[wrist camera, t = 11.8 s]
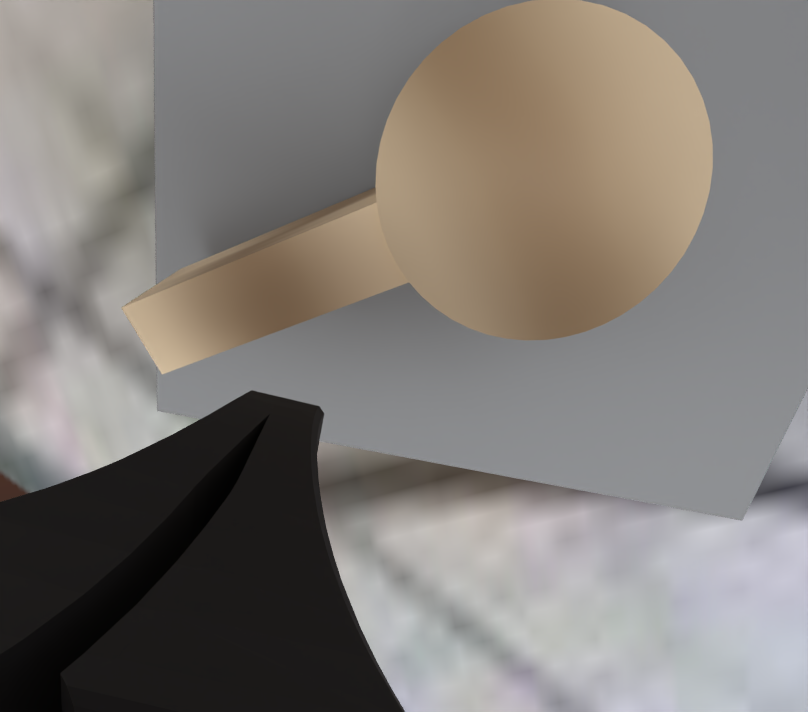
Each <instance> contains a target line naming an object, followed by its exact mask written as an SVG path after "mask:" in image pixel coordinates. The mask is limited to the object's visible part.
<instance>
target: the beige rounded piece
mask: <svg viewBox="0 0 808 712" xmlns="http://www.w3.org/2000/svg"><path fill="white" fill-rule="evenodd" d="M712 170H713V143H712V136H711V129H710V121H709V118H708V115H707V111H706V108H705V104H704V101H703V98H702V96H701V93H700V91H699V89H698V87H697V85H696V83H695V80H694V78H693V77H692V75H691V73H690V72H689V70H688V69H687V67H686V66H685V64H684V63H683V61H682V60H681V58H680V57H679V56H678V55H677V54H676V53H675V51H674V50H673V49H672V48H671V47H670V46H669V45H668V44H667V43H666V41H665V40H663V39H662V38H661V37H660V36H658V35H657V34H656V33H655V32H653V31H652V30H651V29H650V28H649V27H647V26H646V25H644V24H642V23H641V22H639V21H637V20H636V19H634V18H632V17H630V16H629V15H627V14H625V13H622V12H620V11H617V10H614V9H612V8H609V7H607V6H604V5H600V4H595V3H591V2H586V1H582V0H533V1H527V2H523V3H519V4H515V5H510V6H506V7H504V8H501V9H499V10H496V11H493V12H491V13H488V14H486V15H483V16H481V17H480V18H478V19H476V20H474V21H472V22H471V23H469V24H467V25H465V26H463V27H462V28H460V29H459V30H457V31H456V32H455V33H453V34H452V35H451V36H449V37H448V38H447V39H445V40H444V41H443V42H441V43H440V44H439V45H438V46H437V47H436V48H435V49H434V50H433V51H432V52H431V53H430V54H429V55H428V56H427V57H426V58H425V59H424V60H423V61H422V63H421V64H420V65H419V66H418V68H417V69H416V70H415V71H414V73H413V74H412V75H411V76H410V78H409V79H408V81H407V82H406V84H405V86H404V87H403V89H402V91H401V92H400V94H399V95H398V97H397V99H396V101H395V103H394V105H393V108H392V110H391V112H390V114H389V117H388V119H387V121H386V125H385V128H384V131H383V135H382V138H381V141H380V146H379V152H378V158H377V164H376V185H375V188H373V189H370V190H368V191H366V192H363V193H361V194H358V195H356V196H354V197H351V198H349V199H347V200H344V201H342V202H339V203H337V204H335V205H332V206H330V207H327V208H325V209H323V210H320V211H318V212H315V213H313V214H311V215H308V216H306V217H303V218H301V219H299V220H296V221H294V222H292V223H289V224H287V225H284V226H282V227H280V228H277V229H275V230H272V231H270V232H268V233H265V234H263V235H260V236H258V237H256V238H253V239H251V240H248V241H246V242H244V243H241V244H239V245H237V246H234V247H232V248H229V249H227V250H225V251H222V252H220V253H217V254H215V255H213V256H210V257H208V258H205V259H203V260H201V261H198V262H196V263H193V264H191V265H189V266H186V267H184V268H182V269H180V270H178V271H177V272H175V273H173V274H172V275H170V276H169V277H167V278H166V279H164V280H163V281H161V282H160V283H158V284H157V285H155V286H154V287H152V288H151V289H149V290H148V291H146V292H144V293H143V294H141V295H140V296H138V297H137V298H135V299H134V300H132V301H131V302H129V303H128V304H126V305H125V306H123V307H122V310H123V311H124V313H125V315H126V316H127V318H128V320H129V321H130V323H131V324H132V326H133V328H134V329H135V331H136V333H137V334H138V336H139V338H140V339H141V341H142V342H143V344H144V346H145V347H146V349H147V351H148V352H149V354H150V356H151V357H152V359H153V360H154V362H155V364H156V365H157V367H158V369H159V370H160V372H161V374H165V373H168V372H170V371H173V370H176V369H178V368H181V367H184V366H186V365H189V364H192V363H194V362H197V361H200V360H202V359H205V358H208V357H211V356H213V355H216V354H219V353H221V352H224V351H227V350H229V349H232V348H235V347H237V346H240V345H243V344H245V343H248V342H251V341H253V340H256V339H259V338H261V337H264V336H267V335H269V334H272V333H275V332H277V331H280V330H283V329H285V328H288V327H291V326H293V325H296V324H299V323H302V322H304V321H307V320H310V319H312V318H315V317H318V316H320V315H323V314H326V313H328V312H331V311H334V310H336V309H339V308H342V307H344V306H347V305H350V304H352V303H355V302H358V301H360V300H363V299H366V298H368V297H371V296H374V295H376V294H379V293H382V292H384V291H387V290H390V289H393V288H395V287H398V286H401V285H403V284H406V283H410V284H411V285H412V286H413V287H414V288H415V290H416V291H417V292H418V293H419V294H420V295H421V296H422V297H423V298H424V299H425V300H426V301H427V302H429V303H430V304H431V305H432V306H433V307H434V308H435V309H437V310H438V311H440V312H441V313H443V314H444V315H446V316H447V317H449V318H450V319H452V320H454V321H456V322H458V323H460V324H462V325H464V326H466V327H468V328H470V329H473V330H476V331H479V332H481V333H484V334H487V335H492V336H496V337H501V338H505V339H515V340H549V339H556V338H563V337H568V336H571V335H575V334H579V333H583V332H586V331H588V330H591V329H593V328H596V327H599V326H601V325H604V324H606V323H608V322H609V321H611V320H613V319H615V318H617V317H619V316H621V315H623V314H624V313H625V312H627V311H628V310H630V309H631V308H633V307H634V306H636V305H637V304H639V303H640V302H641V301H642V300H643V299H645V298H646V297H647V296H648V295H649V294H650V293H651V292H653V291H654V290H655V289H656V288H657V287H658V286H659V285H660V284H661V283H662V282H663V280H664V279H665V278H666V277H667V276H668V275H669V274H670V273H671V272H672V270H673V269H674V267H675V266H676V265H677V263H678V262H679V261H680V259H681V258H682V256H683V255H684V254H685V252H686V250H687V248H688V246H689V244H690V243H691V241H692V239H693V237H694V235H695V233H696V231H697V229H698V226H699V224H700V221H701V219H702V216H703V214H704V210H705V207H706V203H707V199H708V195H709V191H710V185H711V177H712Z"/></svg>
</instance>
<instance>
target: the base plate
mask: <svg viewBox="0 0 808 712" xmlns="http://www.w3.org/2000/svg"><path fill="white" fill-rule="evenodd" d="M527 1H533V0H153V4H154V118H155V231H156V285H157V284H158V283H160V282H161V281H163V280H164V279H166V278H167V277H169V276H170V275H172V274H173V273H175V272H177V271H178V270H180V269H182V268H184V267H186V266H189V265H191V264H193V263H196V262H198V261H201V260H203V259H205V258H208V257H210V256H213V255H215V254H217V253H220V252H222V251H225V250H227V249H229V248H232V247H234V246H237V245H239V244H241V243H244V242H246V241H248V240H251V239H253V238H256V237H258V236H260V235H263V234H265V233H268V232H270V231H272V230H275V229H277V228H280V227H282V226H284V225H287V224H289V223H292V222H294V221H296V220H299V219H301V218H303V217H306V216H308V215H311V214H313V213H315V212H318V211H320V210H323V209H325V208H327V207H330V206H332V205H335V204H337V203H339V202H342V201H344V200H347V199H349V198H351V197H354V196H356V195H358V194H361V193H363V192H366V191H368V190H370V189H373V188H375V185H376V164H377V158H378V152H379V146H380V141H381V138H382V135H383V131H384V128H385V125H386V121H387V119H388V117H389V114H390V112H391V110H392V108H393V105H394V103H395V101H396V99H397V97H398V95H399V94H400V92H401V91H402V89H403V87H404V86H405V84H406V82H407V81H408V79H409V78H410V76H411V75H412V74H413V73H414V71H415V70H416V69H417V68H418V66H419V65H420V64H421V63H422V61H423V60H424V59H425V58H426V57H427V56H428V55H429V54H430V53H431V52H432V51H433V50H434V49H435V48H436V47H437V46H438V45H439V44H440V43H441V42H443V41H444V40H445V39H447V38H448V37H449V36H451V35H452V34H453V33H455V32H456V31H457V30H459V29H460V28H462V27H463V26H465V25H467V24H469V23H471V22H472V21H474V20H476V19H478V18H480V17H481V16H483V15H486V14H488V13H491V12H493V11H496V10H499V9H501V8H504V7H506V6H510V5H515V4H519V3H523V2H527ZM582 1H586V2H591V3H595V4H600V5H604V6H607V7H609V8H612V9H614V10H617V11H620V12H622V13H625V14H627V15H629V16H630V17H632V18H634V19H636V20H637V21H639V22H641V23H642V24H644V25H646V26H647V27H649V28H650V29H651V30H652V31H653V32H655V33H656V34H657V35H658V36H660V37H661V38H662V39H663V40H665V41H666V43H667V44H668V45H669V46H670V47H671V48H672V49H673V50H674V51H675V53H676V54H677V55H678V56H679V57H680V58H681V60H682V61H683V63H684V64H685V66H686V67H687V69H688V70H689V72H690V73H691V75H692V77H693V78H694V80H695V83H696V85H697V87H698V89H699V91H700V93H701V96H702V98H703V101H704V104H705V108H706V111H707V115H708V118H709V121H710V129H711V136H712V143H713V170H712V177H711V185H710V191H709V195H708V199H707V203H706V207H705V210H704V214H703V216H702V219H701V221H700V224H699V226H698V229H697V231H696V233H695V235H694V237H693V239H692V241H691V243H690V244H689V246H688V248H687V250H686V252H685V254H684V255H683V256H682V258H681V259H680V261H679V262H678V263H677V265H676V266H675V267H674V269H673V270H672V272H671V273H670V274H669V275H668V276H667V277H666V278H665V279H664V280H663V282H662V283H661V284H660V285H659V286H658V287H657V288H656V289H655V290H654V291H653V292H651V293H650V294H649V295H648V296H647V297H646V298H645V299H643V300H642V301H641V302H640V303H639V304H637V305H636V306H634V307H633V308H631V309H630V310H628V311H627V312H625V313H624V314H623V315H621V316H619V317H617V318H615V319H613V320H611V321H609V322H608V323H606V324H604V325H601V326H599V327H596V328H593V329H591V330H588V331H586V332H583V333H579V334H575V335H571V336H568V337H563V338H556V339H549V340H515V339H505V338H501V337H496V336H492V335H487V334H484V333H481V332H479V331H476V330H473V329H470V328H468V327H466V326H464V325H462V324H460V323H458V322H456V321H454V320H452V319H450V318H449V317H447V316H446V315H444V314H443V313H441V312H440V311H438V310H437V309H435V308H434V307H433V306H432V305H431V304H430V303H429V302H427V301H426V300H425V299H424V298H423V297H422V296H421V295H420V294H419V293H418V292H417V291H416V290H415V288H414V287H413V286H412V285H411V284H410V283H406V284H403V285H401V286H398V287H395V288H393V289H390V290H387V291H384V292H382V293H379V294H376V295H374V296H371V297H368V298H366V299H363V300H360V301H358V302H355V303H352V304H350V305H347V306H344V307H342V308H339V309H336V310H334V311H331V312H328V313H326V314H323V315H320V316H318V317H315V318H312V319H310V320H307V321H304V322H302V323H299V324H296V325H293V326H291V327H288V328H285V329H283V330H280V331H277V332H275V333H272V334H269V335H267V336H264V337H261V338H259V339H256V340H253V341H251V342H248V343H245V344H243V345H240V346H237V347H235V348H232V349H229V350H227V351H224V352H221V353H219V354H216V355H213V356H211V357H208V358H205V359H202V360H200V361H197V362H194V363H192V364H189V365H186V366H184V367H181V368H178V369H176V370H173V371H170V372H168V373H165V374H161V372H160V370H159V369H158V367H157V411H161V412H167V413H172V414H177V415H183V416H188V417H193V418H199V419H202V418H204V417H205V416H207V415H209V414H211V413H212V412H214V411H216V410H217V409H219V408H221V407H223V406H224V405H226V404H228V403H230V402H231V401H233V400H235V399H237V398H238V397H240V396H242V395H244V394H245V393H247V392H249V391H251V390H253V391H257V392H261V393H266V394H270V395H274V396H278V397H283V398H287V399H291V400H295V401H300V402H304V403H308V404H312V405H317V406H320V408H321V409H322V411H323V412H324V418H323V424H322V429H321V435H320V440H319V441H321V442H326V443H332V444H337V445H342V446H348V447H353V448H358V449H364V450H369V451H374V452H380V453H385V454H390V455H396V456H401V457H406V458H412V459H417V460H422V461H428V462H433V463H438V464H444V465H449V466H454V467H460V468H465V469H470V470H476V471H481V472H486V473H492V474H497V475H502V476H508V477H513V478H518V479H523V480H529V481H534V482H539V483H545V484H550V485H555V486H561V487H566V488H571V489H577V490H582V491H587V492H593V493H598V494H603V495H609V496H614V497H619V498H625V499H630V500H635V501H641V502H646V503H651V504H657V505H662V506H667V507H673V508H678V509H683V510H689V511H694V512H699V513H705V514H710V515H715V516H720V517H726V518H731V519H736V520H743V518H744V516H745V514H746V512H747V510H748V508H749V506H750V504H751V502H752V500H753V498H754V496H755V494H756V492H757V490H758V488H759V486H760V484H761V482H762V480H763V478H764V476H765V474H766V472H767V470H768V468H769V466H770V464H771V462H772V459H773V457H774V455H775V453H776V451H777V449H778V447H779V445H780V443H781V441H782V439H783V437H784V435H785V433H786V431H787V429H788V427H789V425H790V423H791V421H792V419H793V417H794V415H795V413H796V411H797V409H798V407H799V405H800V403H801V401H802V399H803V397H804V395H805V393H806V391H807V389H808V0H582Z"/></svg>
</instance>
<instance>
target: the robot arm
mask: <svg viewBox="0 0 808 712" xmlns="http://www.w3.org/2000/svg"><path fill="white" fill-rule="evenodd" d="M323 418H324V412H323V411H322V409H321V408H320V406H317V405H312V404H308V403H304V402H300V401H295V400H291V399H287V398H283V397H278V396H274V395H270V394H266V393H261V392H257V391H253V390H251V391H249V392H247V393H245V394H244V395H242V396H240V397H238V398H237V399H235V400H233V401H231V402H230V403H228V404H226V405H224V406H223V407H221V408H219V409H217V410H216V411H214V412H212V413H211V414H209V415H207V416H205V417H204V418H202V419H200V420H198V421H197V422H195V423H193V424H191V425H189V426H187V427H186V428H184V429H182V430H180V431H178V432H176V433H175V434H173V435H171V436H169V437H167V438H165V439H163V440H160V441H158V442H156V443H154V444H152V445H150V446H148V447H146V448H144V449H142V450H140V451H138V452H136V453H134V454H131V455H129V456H127V457H125V458H123V459H121V460H119V461H116V462H114V463H112V464H109V465H107V466H104V467H102V468H100V469H97V470H95V471H92V472H90V473H87V474H84V475H81V476H79V477H76V478H73V479H71V480H68V481H65V482H63V483H60V484H57V485H54V486H51V487H48V488H46V489H42V490H39V491H36V492H32V493H29V494H26V495H22V496H19V497H16V498H12V499H9V500H6V501H2V502H0V712H405V711H404V709H403V707H402V706H401V704H400V702H399V701H398V699H397V697H396V696H395V694H394V692H393V691H392V689H391V687H390V685H389V683H388V681H387V680H386V678H385V676H384V674H383V672H382V670H381V669H380V667H379V665H378V663H377V661H376V659H375V657H374V655H373V653H372V651H371V649H370V647H369V645H368V643H367V641H366V638H365V636H364V634H363V632H362V630H361V628H360V626H359V623H358V621H357V618H356V616H355V613H354V611H353V608H352V606H351V603H350V601H349V598H348V596H347V593H346V591H345V588H344V586H343V583H342V581H341V578H340V574H339V571H338V568H337V565H336V562H335V559H334V556H333V552H332V548H331V544H330V541H329V537H328V533H327V529H326V524H325V519H324V514H323V509H322V502H321V496H320V489H319V481H318V466H317V451H318V445H319V440H320V435H321V429H322V424H323Z"/></svg>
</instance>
